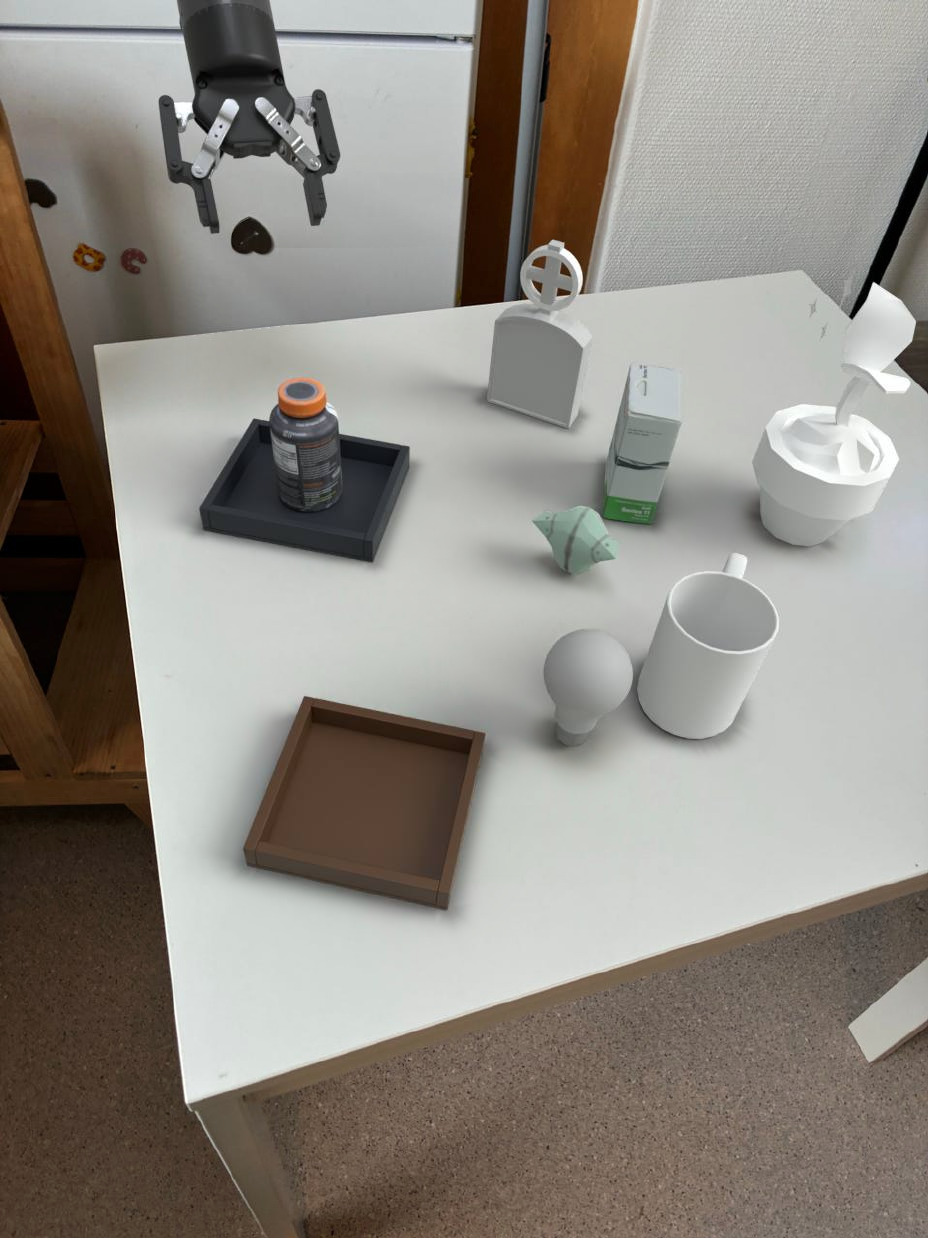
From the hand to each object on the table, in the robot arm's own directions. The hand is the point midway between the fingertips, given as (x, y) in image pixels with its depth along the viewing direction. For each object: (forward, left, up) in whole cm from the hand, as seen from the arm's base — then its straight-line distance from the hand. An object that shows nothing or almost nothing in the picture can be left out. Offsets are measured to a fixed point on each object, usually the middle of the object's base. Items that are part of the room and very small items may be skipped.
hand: (266, 226), depth 76 cm
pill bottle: (+6, -10, -20) cm, 23 cm away
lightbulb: (+33, -31, -20) cm, 50 cm away
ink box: (+35, -1, -20) cm, 41 cm away
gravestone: (+24, +10, -20) cm, 33 cm away
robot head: (+31, -13, -20) cm, 39 cm away
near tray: (+20, -40, -20) cm, 49 cm away
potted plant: (+51, -2, -20) cm, 55 cm away
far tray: (+6, -10, -20) cm, 23 cm away
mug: (+42, -23, -20) cm, 52 cm away
